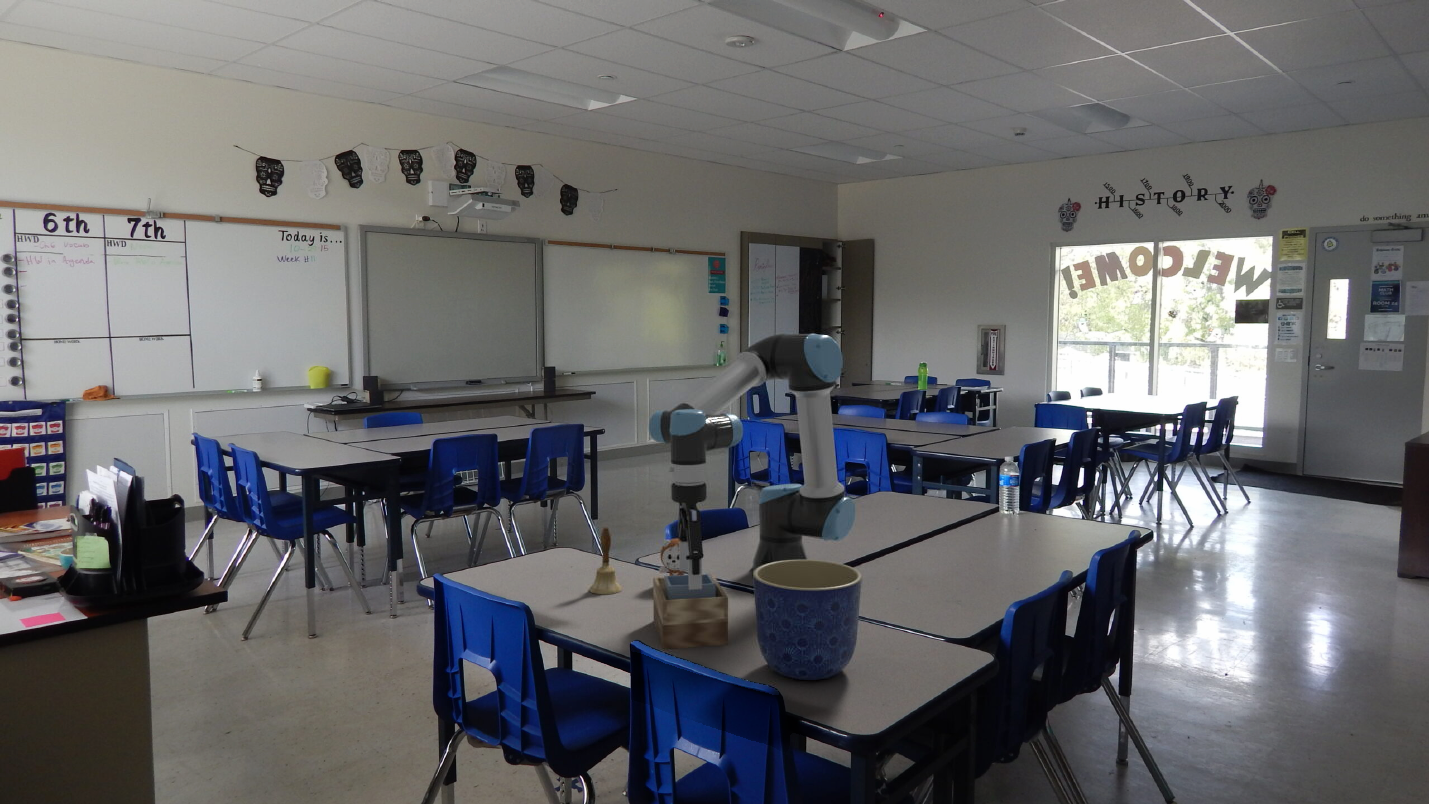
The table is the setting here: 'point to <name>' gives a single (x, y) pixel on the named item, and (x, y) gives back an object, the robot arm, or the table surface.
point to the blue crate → (680, 587)
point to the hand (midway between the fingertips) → (690, 579)
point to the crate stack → (690, 618)
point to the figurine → (671, 557)
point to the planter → (807, 616)
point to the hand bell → (605, 570)
